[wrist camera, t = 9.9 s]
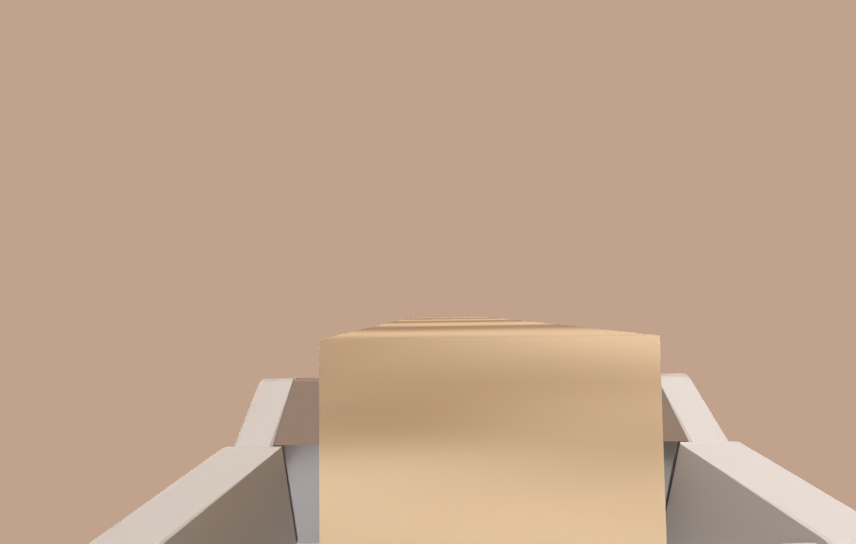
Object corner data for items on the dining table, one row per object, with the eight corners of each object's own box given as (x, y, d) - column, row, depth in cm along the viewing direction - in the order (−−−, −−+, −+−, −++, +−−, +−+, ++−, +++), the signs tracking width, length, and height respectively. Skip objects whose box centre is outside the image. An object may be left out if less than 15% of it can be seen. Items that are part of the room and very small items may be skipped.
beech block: (686, 689, 6) (674, 335, 7) (319, 691, 7) (318, 339, 7) (494, 397, 28) (492, 316, 29) (410, 398, 28) (409, 318, 29)
